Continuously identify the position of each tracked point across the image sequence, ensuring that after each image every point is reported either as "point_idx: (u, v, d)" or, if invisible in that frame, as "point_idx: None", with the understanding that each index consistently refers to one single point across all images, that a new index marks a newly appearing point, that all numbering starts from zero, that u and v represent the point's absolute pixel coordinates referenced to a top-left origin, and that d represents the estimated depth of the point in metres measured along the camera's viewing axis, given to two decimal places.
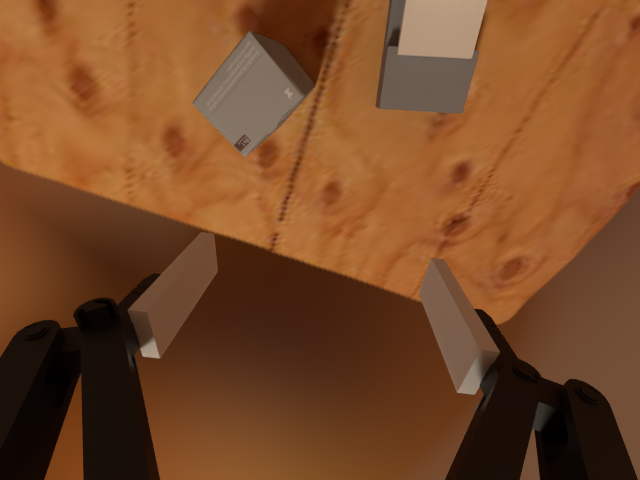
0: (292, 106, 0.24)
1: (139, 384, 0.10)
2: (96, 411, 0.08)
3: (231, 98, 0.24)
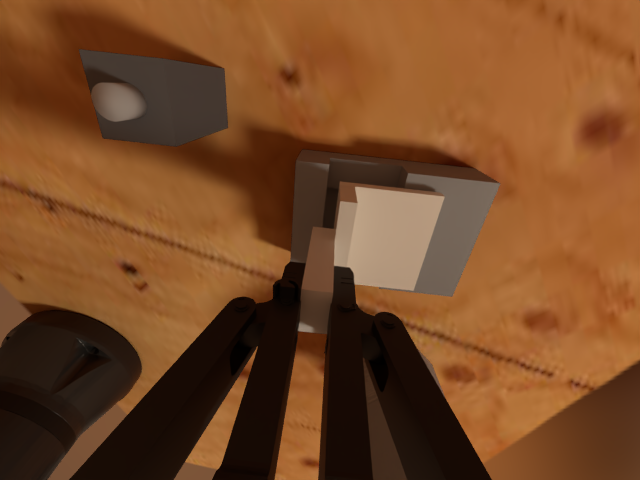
0: None
1: (292, 364, 0.12)
2: (259, 372, 0.09)
3: None
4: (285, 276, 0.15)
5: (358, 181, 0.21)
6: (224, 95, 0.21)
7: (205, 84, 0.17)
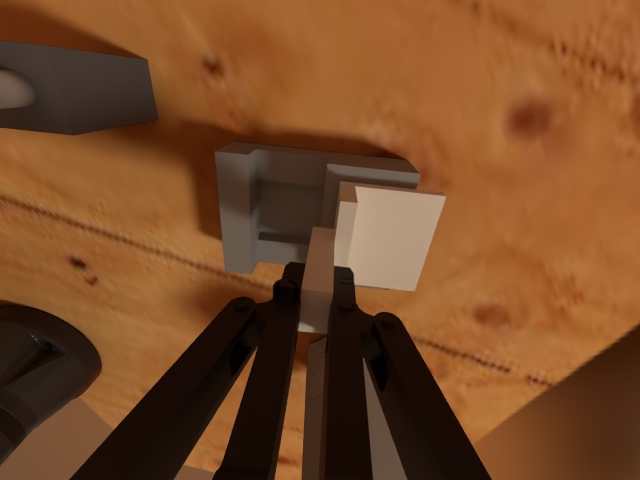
0: None
1: (292, 364, 0.12)
2: (259, 372, 0.09)
3: None
4: (285, 276, 0.15)
5: (286, 173, 0.21)
6: (149, 86, 0.20)
7: (117, 74, 0.17)
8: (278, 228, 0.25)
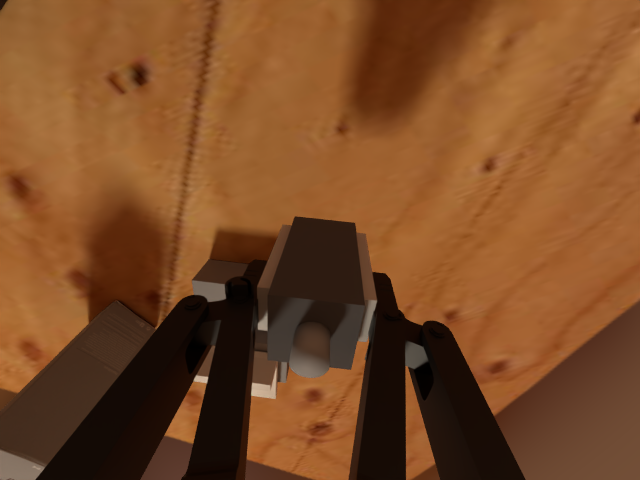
0: None
1: (253, 360, 0.12)
2: (219, 373, 0.09)
3: None
4: (246, 274, 0.14)
5: None
6: None
7: None
8: None
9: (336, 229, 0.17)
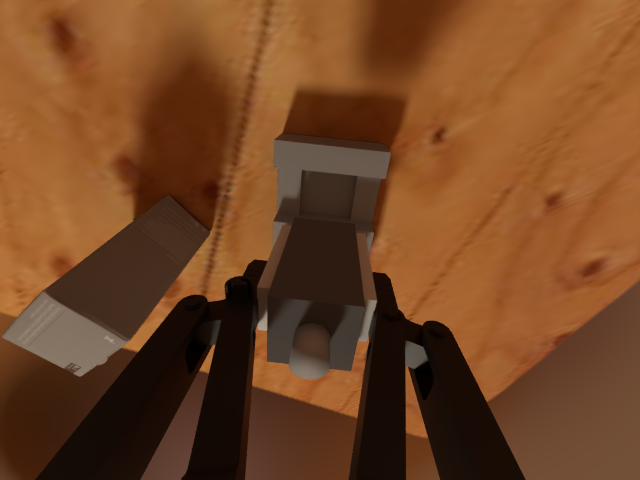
0: (118, 347, 0.20)
1: (252, 360, 0.12)
2: (219, 373, 0.09)
3: (44, 337, 0.20)
4: (246, 274, 0.14)
5: (362, 194, 0.28)
6: None
7: None
8: (310, 178, 0.28)
9: (336, 230, 0.17)
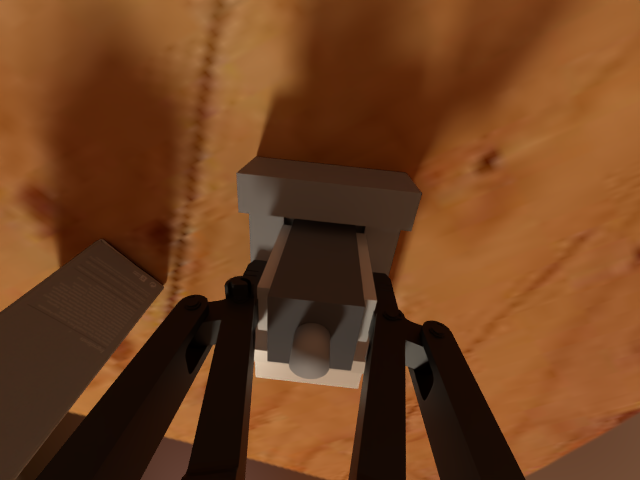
0: None
1: (253, 360, 0.12)
2: (219, 372, 0.09)
3: None
4: (246, 274, 0.14)
5: (373, 246, 0.19)
6: None
7: None
8: None
9: (336, 230, 0.17)
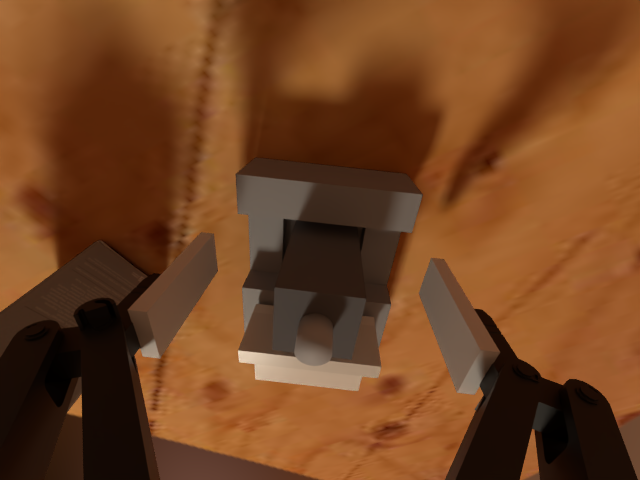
0: None
1: (139, 384, 0.10)
2: (96, 411, 0.08)
3: None
4: (135, 291, 0.13)
5: (373, 247, 0.19)
6: None
7: None
8: None
9: (338, 226, 0.18)
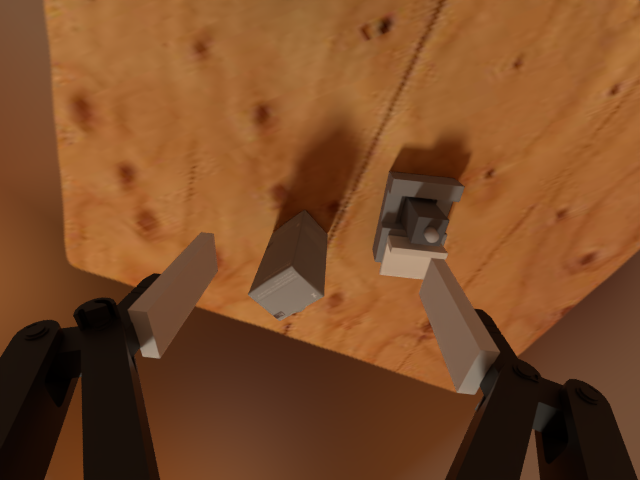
0: (315, 300, 0.36)
1: (139, 384, 0.10)
2: (96, 411, 0.08)
3: (275, 294, 0.35)
4: (135, 291, 0.13)
5: None
6: None
7: None
8: (404, 200, 0.43)
9: (426, 200, 0.42)
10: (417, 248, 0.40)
